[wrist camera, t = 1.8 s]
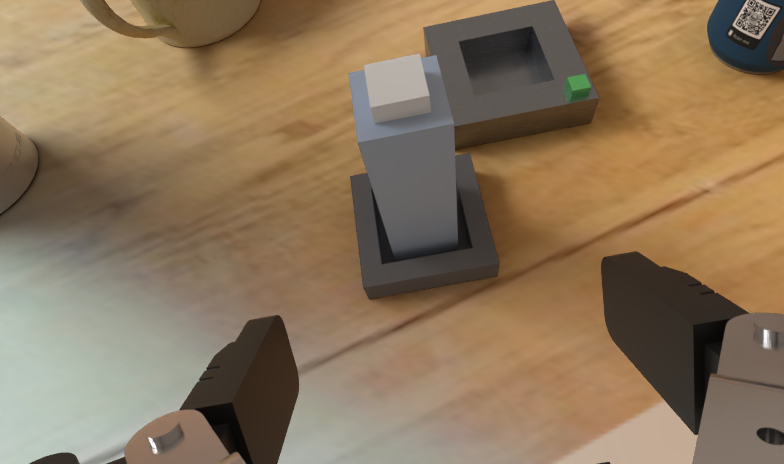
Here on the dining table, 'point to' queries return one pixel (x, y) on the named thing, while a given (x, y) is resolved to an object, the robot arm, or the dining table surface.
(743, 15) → the soda can
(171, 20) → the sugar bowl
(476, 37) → the port
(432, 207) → the plug
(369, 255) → the holster
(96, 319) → the dining table surface
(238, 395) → the robot arm
